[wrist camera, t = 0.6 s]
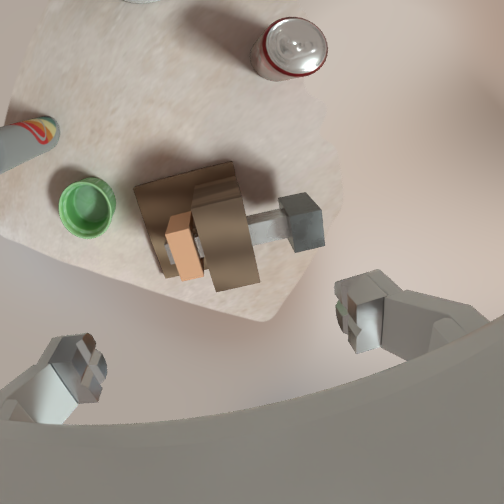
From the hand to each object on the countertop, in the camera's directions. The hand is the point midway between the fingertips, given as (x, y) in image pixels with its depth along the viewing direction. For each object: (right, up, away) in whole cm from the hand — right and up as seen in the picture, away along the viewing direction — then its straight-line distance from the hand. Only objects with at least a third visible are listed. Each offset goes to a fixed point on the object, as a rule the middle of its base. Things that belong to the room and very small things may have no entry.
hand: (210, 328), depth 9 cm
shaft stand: (-7, +7, +38) cm, 40 cm away
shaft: (0, +6, +34) cm, 35 cm away
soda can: (+5, +30, +28) cm, 41 cm away
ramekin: (-24, +10, +34) cm, 43 cm away
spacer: (-8, +5, +34) cm, 35 cm away
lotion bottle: (-30, +21, +28) cm, 46 cm away
